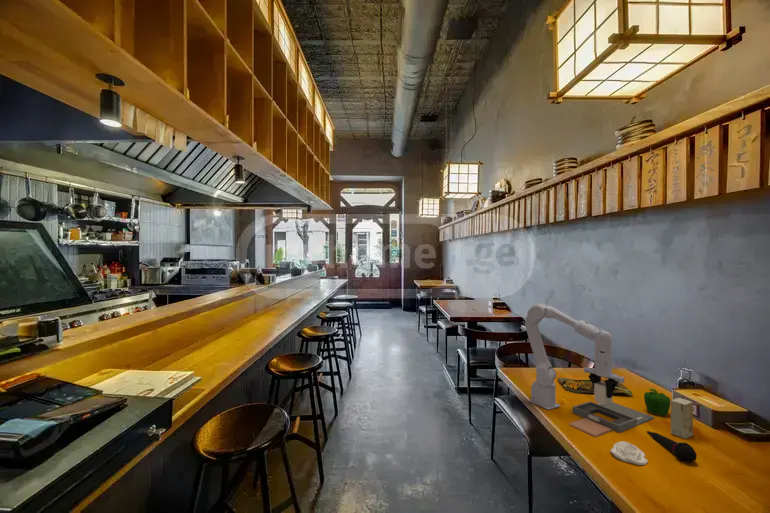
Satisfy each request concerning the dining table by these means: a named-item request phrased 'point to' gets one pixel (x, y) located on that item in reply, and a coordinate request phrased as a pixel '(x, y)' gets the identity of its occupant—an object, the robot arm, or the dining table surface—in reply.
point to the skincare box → (682, 418)
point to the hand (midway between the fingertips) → (603, 395)
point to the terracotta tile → (590, 427)
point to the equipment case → (612, 415)
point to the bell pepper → (657, 402)
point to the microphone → (676, 447)
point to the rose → (628, 453)
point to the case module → (601, 393)
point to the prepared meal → (589, 386)
